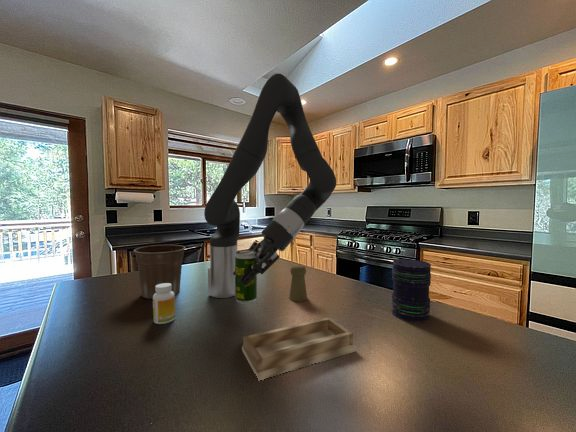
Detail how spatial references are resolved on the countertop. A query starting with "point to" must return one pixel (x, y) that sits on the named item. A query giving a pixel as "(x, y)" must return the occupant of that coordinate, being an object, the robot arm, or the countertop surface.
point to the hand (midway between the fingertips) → (238, 279)
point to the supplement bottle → (163, 304)
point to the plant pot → (159, 267)
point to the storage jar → (411, 290)
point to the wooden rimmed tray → (296, 346)
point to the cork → (298, 283)
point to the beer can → (241, 266)
